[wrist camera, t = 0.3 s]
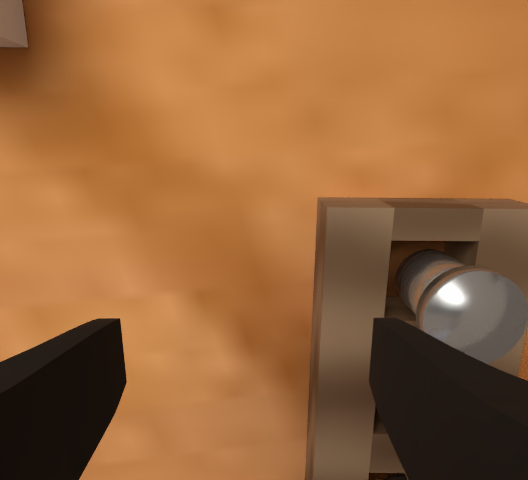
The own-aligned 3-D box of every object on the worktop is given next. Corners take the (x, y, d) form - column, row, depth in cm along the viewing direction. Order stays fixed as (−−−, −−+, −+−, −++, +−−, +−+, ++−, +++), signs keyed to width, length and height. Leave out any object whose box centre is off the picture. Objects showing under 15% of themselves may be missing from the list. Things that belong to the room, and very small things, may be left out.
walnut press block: (456, 503, 25) (482, 550, 22) (304, 502, 25) (309, 550, 22) (509, 199, 20) (551, 209, 17) (317, 197, 20) (327, 207, 17)
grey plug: (460, 315, 19) (518, 367, 15) (383, 315, 19) (418, 366, 15) (471, 241, 18) (536, 272, 14) (390, 240, 18) (430, 271, 14)
